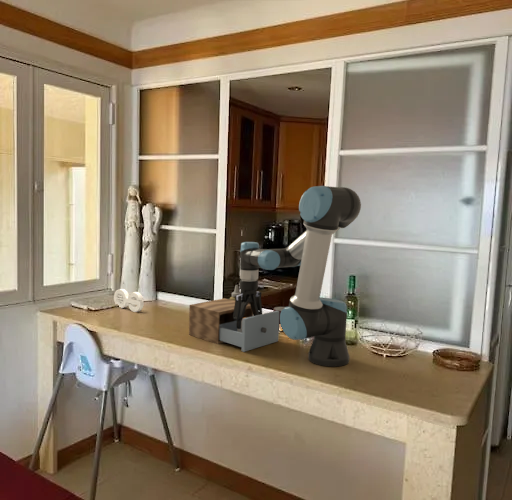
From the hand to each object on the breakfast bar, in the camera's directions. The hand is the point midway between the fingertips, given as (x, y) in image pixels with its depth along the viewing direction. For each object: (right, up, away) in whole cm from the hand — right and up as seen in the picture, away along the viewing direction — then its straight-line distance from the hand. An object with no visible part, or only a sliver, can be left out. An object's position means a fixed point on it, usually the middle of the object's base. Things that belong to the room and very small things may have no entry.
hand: (247, 333), depth 198 cm
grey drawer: (0, -3, +1) cm, 3 cm away
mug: (+14, -2, +20) cm, 24 cm away
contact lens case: (-63, +3, +52) cm, 82 cm away
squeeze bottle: (-6, 0, +32) cm, 33 cm away
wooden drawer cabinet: (-12, -2, +11) cm, 16 cm away
